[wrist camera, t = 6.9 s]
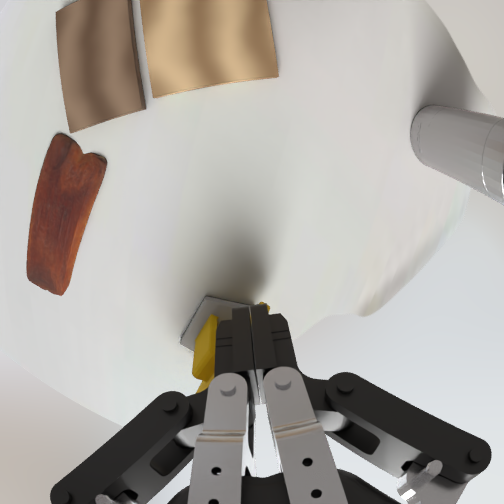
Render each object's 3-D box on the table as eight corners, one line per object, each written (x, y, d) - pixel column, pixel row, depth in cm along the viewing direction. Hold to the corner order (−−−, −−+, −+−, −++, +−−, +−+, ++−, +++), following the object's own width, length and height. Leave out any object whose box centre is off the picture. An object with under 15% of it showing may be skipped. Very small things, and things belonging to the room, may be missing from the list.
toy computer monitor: (211, 369, 51) (209, 444, 37) (171, 355, 49) (159, 431, 35) (268, 292, 43) (283, 376, 29) (219, 271, 41) (215, 356, 27)
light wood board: (257, -34, 22) (258, -39, 20) (276, 77, 29) (278, 76, 28) (141, -14, 22) (138, -17, 20) (156, 98, 29) (153, 97, 28)
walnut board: (130, -15, 21) (125, -19, 20) (146, 109, 30) (142, 109, 29) (62, 14, 22) (55, 12, 20) (76, 131, 30) (70, 133, 29)
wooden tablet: (57, 129, 30) (51, 130, 29) (114, 158, 33) (109, 161, 32) (23, 274, 40) (18, 279, 38) (66, 300, 43) (63, 306, 41)
